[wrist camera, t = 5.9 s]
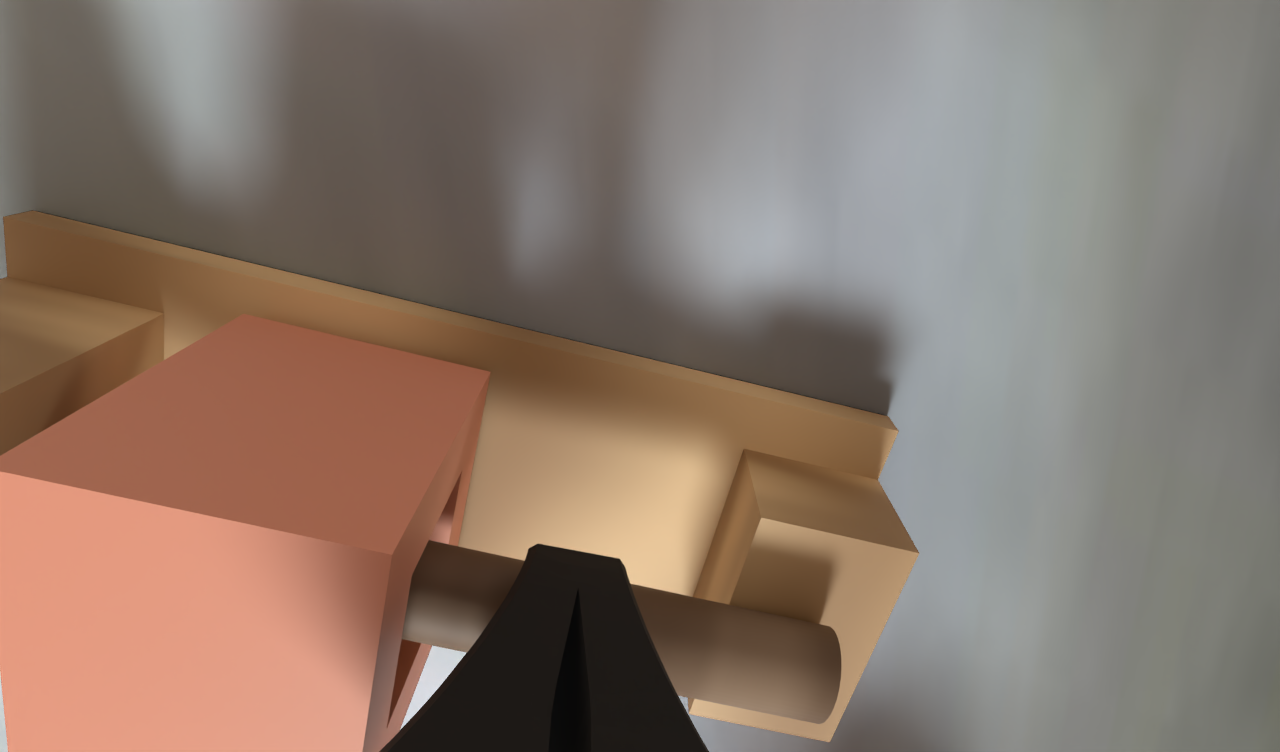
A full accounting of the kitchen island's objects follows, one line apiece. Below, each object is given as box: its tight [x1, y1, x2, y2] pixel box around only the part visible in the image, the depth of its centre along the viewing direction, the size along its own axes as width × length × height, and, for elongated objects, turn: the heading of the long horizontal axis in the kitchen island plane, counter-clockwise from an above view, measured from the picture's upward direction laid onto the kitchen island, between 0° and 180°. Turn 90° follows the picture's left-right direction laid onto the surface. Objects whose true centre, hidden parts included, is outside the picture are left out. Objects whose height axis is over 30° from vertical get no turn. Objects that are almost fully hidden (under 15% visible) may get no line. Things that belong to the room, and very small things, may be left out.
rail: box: [0, 210, 919, 742], centre depth 11 cm, size 15×6×6 cm, turn 76°
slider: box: [0, 314, 491, 752], centre depth 11 cm, size 4×5×5 cm
